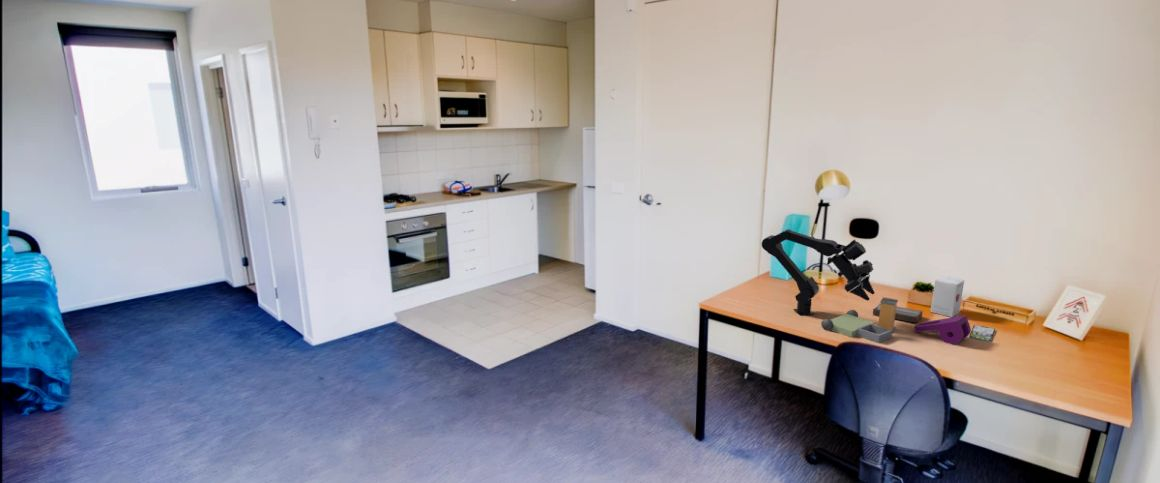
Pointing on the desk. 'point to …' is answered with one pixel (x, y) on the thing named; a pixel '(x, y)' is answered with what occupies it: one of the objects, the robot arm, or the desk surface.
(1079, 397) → the desk surface
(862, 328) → the green slab with frame
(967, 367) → the desk surface
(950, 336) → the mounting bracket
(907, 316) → the box
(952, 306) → the supplement box
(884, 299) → the tan rectangular column
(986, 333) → the mottled grey green block
